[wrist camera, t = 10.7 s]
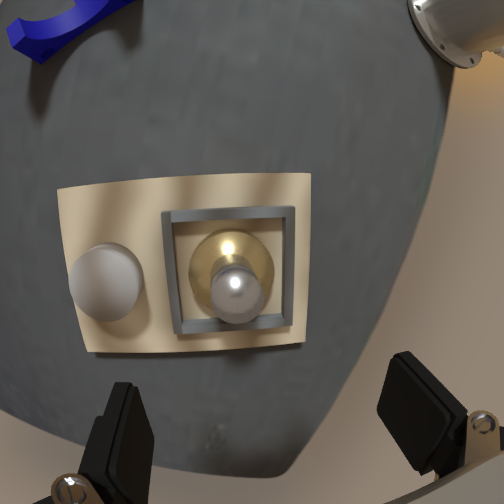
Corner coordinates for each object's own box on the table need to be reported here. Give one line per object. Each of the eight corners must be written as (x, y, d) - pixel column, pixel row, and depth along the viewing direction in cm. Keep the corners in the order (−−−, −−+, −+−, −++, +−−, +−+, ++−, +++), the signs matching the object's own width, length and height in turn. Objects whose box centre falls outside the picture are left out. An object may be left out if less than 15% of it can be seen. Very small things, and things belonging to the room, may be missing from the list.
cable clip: (128, -27, 18) (116, -58, 12) (144, -4, 20) (133, -37, 14) (31, 38, 18) (3, 20, 13) (42, 64, 20) (12, 47, 14)
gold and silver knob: (271, 227, 25) (292, 246, 19) (270, 304, 27) (287, 341, 21) (187, 229, 25) (180, 250, 18) (192, 308, 26) (188, 347, 20)
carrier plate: (305, 173, 26) (323, 173, 22) (300, 334, 30) (314, 358, 26) (64, 188, 23) (40, 192, 19) (91, 344, 28) (78, 368, 23)
